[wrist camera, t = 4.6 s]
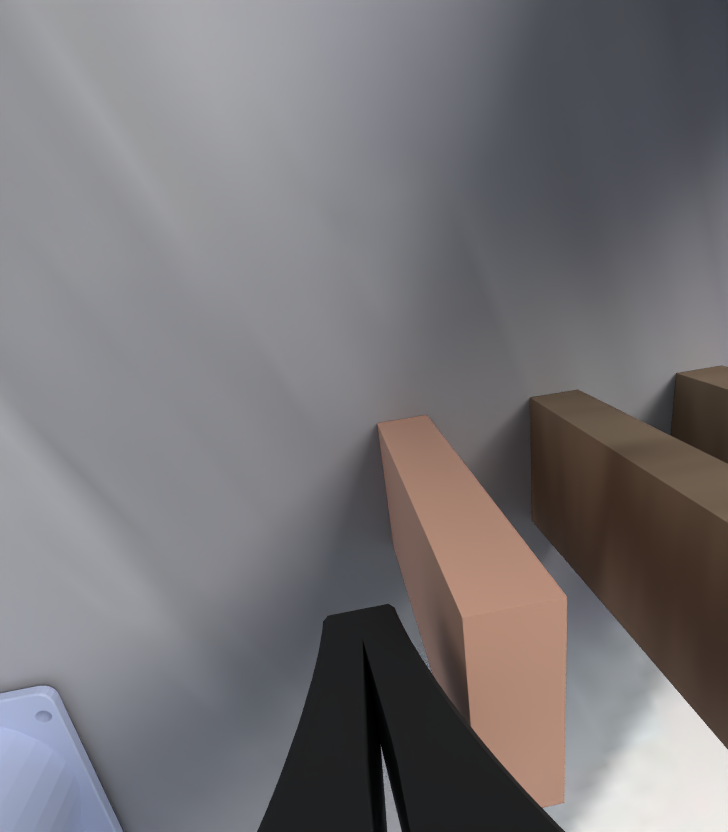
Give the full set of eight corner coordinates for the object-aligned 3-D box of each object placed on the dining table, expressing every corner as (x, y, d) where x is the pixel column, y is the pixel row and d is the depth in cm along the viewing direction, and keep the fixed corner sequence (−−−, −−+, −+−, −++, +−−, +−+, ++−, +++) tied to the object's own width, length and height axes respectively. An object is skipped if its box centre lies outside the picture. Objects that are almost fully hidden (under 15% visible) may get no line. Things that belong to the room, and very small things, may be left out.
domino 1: (438, 538, 17) (564, 802, 9) (393, 546, 16) (478, 822, 8) (427, 415, 15) (567, 597, 7) (377, 423, 15) (462, 617, 7)
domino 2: (575, 512, 17) (818, 744, 9) (532, 521, 17) (739, 762, 9) (577, 389, 15) (874, 536, 7) (530, 397, 15) (779, 555, 7)
